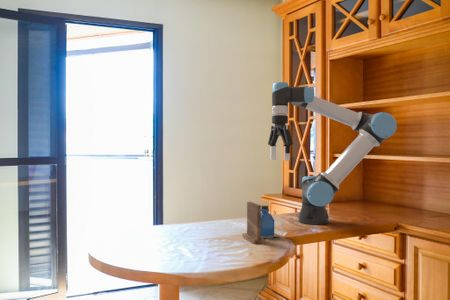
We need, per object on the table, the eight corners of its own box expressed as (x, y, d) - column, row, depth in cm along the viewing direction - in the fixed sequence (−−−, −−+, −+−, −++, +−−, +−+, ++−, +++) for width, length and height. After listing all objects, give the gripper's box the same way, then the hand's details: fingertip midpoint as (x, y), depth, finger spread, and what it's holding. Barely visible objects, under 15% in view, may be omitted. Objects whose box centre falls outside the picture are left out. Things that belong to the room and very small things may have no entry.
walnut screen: (253, 236, 168) (253, 201, 168) (265, 243, 157) (265, 205, 156) (242, 237, 166) (242, 201, 166) (253, 244, 155) (254, 206, 155)
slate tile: (269, 232, 175) (269, 230, 175) (278, 237, 166) (279, 235, 166) (250, 234, 172) (250, 232, 172) (259, 239, 163) (259, 237, 163)
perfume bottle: (260, 236, 165) (260, 207, 165) (255, 232, 171) (255, 205, 171) (274, 235, 167) (274, 206, 167) (268, 231, 173) (268, 204, 173)
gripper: (261, 116, 197) (261, 159, 197) (285, 113, 174) (285, 161, 174) (275, 117, 200) (274, 158, 200) (300, 113, 176) (300, 161, 176)
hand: (279, 160), depth 187 cm, fingers open, 13 cm apart
